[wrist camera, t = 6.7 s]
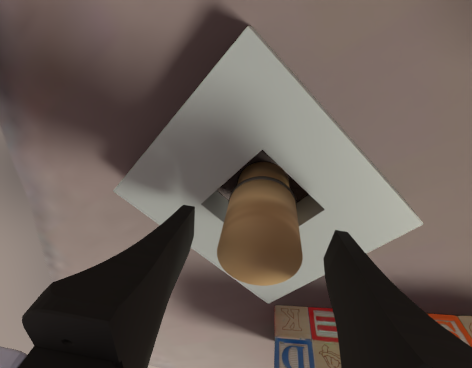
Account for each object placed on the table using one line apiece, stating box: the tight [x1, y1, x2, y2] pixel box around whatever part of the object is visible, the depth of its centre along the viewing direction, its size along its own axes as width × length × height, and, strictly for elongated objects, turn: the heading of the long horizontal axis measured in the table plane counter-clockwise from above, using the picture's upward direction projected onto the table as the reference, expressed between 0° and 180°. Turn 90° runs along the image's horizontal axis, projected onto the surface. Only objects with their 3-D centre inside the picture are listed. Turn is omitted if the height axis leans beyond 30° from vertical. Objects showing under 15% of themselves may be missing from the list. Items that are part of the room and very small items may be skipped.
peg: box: [217, 162, 303, 286], centre depth 15 cm, size 4×4×6 cm
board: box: [113, 26, 423, 304], centre depth 16 cm, size 14×12×2 cm
